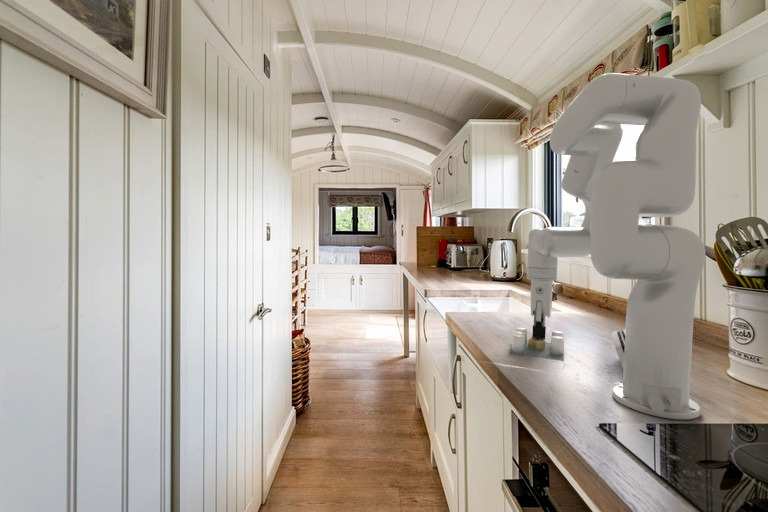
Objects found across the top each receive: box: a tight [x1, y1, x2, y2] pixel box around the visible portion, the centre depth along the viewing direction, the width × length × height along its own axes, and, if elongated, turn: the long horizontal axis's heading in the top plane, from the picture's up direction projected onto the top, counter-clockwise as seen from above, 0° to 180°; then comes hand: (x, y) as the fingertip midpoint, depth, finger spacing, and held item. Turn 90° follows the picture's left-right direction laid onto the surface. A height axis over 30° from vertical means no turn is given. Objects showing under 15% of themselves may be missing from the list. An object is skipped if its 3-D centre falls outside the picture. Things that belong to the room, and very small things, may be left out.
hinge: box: [611, 329, 626, 371], centre depth 84 cm, size 17×5×10 cm, turn 150°
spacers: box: [511, 327, 565, 355], centre depth 98 cm, size 13×12×4 cm
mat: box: [509, 339, 565, 362], centre depth 99 cm, size 16×12×1 cm
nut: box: [528, 336, 547, 350], centre depth 99 cm, size 5×4×2 cm
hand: (538, 340), depth 103 cm, fingers closed
